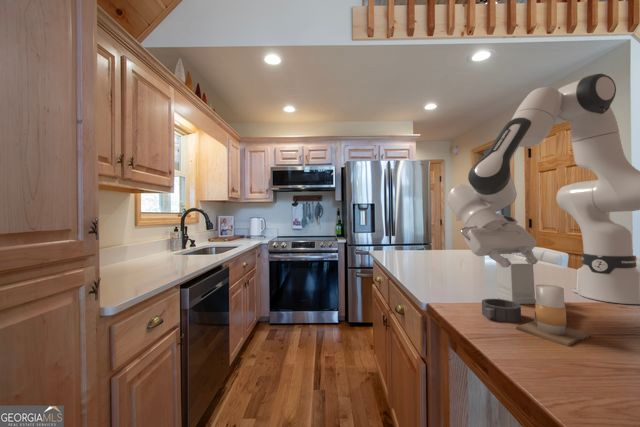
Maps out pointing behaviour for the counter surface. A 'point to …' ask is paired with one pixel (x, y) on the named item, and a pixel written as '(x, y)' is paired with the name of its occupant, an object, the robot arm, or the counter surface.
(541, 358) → the counter surface
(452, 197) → the robot arm
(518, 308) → the collar
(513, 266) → the supplement box
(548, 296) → the two-tone cylinder
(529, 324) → the walnut board
